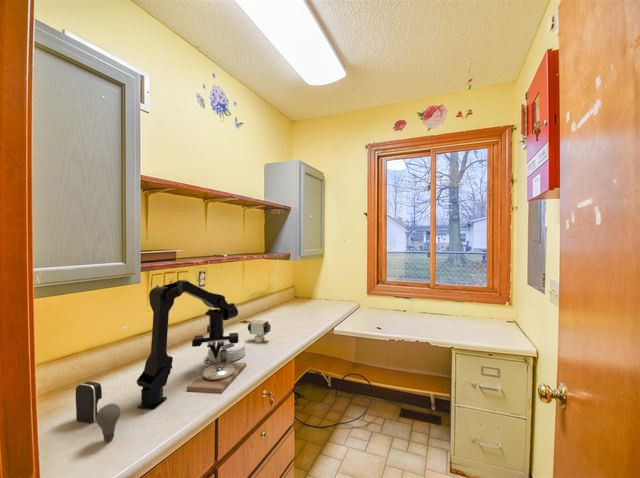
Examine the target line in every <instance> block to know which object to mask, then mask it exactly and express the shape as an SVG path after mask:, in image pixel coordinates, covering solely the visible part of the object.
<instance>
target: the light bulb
mask: <svg viewBox="0 0 640 478" xmlns="http://www.w3.org/2000/svg"><path fill="white" fill-rule="evenodd" d="M120 416H121V408H120V406H118V405H117V404H115V403H108V404H106V405H103V407H101V408H100V409H99V410H98V411H97V416H96V421H95V422H96V424H97V425H98V426H99V428H100V429H101V431H102V435H103V441H104V442H110V441H112V440H113V438H114V437H115V430H116V424H117V422H118V420H119V418H120Z"/></svg>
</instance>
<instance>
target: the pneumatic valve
mask: <svg viewBox="0 0 640 478" xmlns="http://www.w3.org/2000/svg"><path fill="white" fill-rule="evenodd" d="M247 325H248V326H247V330H248V331H249V334H250V335H255V336H254V337H253V341H254V342H255V343H260V344H261V343H262V342H265V339H266V338H265V336H266V335H267V334H269V333H270V332H271V328H272V327H271V324H270V323H269V320H261V319H258V320H254V319H253V320H252V321H250V322H249V323H248V324H247Z"/></svg>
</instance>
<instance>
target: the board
mask: <svg viewBox="0 0 640 478" xmlns="http://www.w3.org/2000/svg"><path fill="white" fill-rule="evenodd" d="M226 363H228V364H232V365H233V366H234V373H233V375H231V376H230V377H228V378H225V379H222V380H217V381H209V380H206V379H204V377H203V373H201V374H200V375H198V377H197V378H196V379H194V380H193V381H192V382H191V383H189V384H188V385H187V386H186V392H200V393H213V394H222V393H224V391H225V390H227V388H228V387H229V386H230V385H231V384H232V383H233V382H234V381H235V379H237V377H238V376H239V375H240V374H241V373H242V372H243V370H244V369H245V368H246V367H247V362H237V361H234V362H233V361H231V362H226ZM215 364H221V362H216V363H212V365H215Z"/></svg>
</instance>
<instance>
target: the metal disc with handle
mask: <svg viewBox="0 0 640 478" xmlns="http://www.w3.org/2000/svg"><path fill="white" fill-rule="evenodd" d="M226 361H227V349H222V350H221V364H215V365H213V364H212V365H210V366H208V367H206V368H205V369H204V370H203V372H202V374H203V377H204V379H206V380H209V381H217V380H222V379H225V378H228V377H230V376H231V375H233V373H234V366H233V365H232V364H228V363H226Z"/></svg>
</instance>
